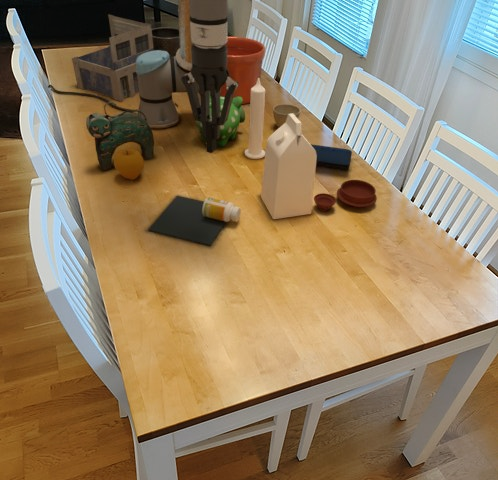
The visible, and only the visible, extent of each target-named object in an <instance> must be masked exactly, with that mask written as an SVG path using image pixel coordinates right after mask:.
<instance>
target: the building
mask: <svg viewBox="0 0 498 480" xmlns="http://www.w3.org/2000/svg"><path fill="white" fill-rule="evenodd" d="M107 16H108V22H109V29H110V37H108V38H109V45H108V46H107V47H104V48H101V49H99V50H96V51H92V52H90V53H86V54H83V55H81V56H74V57H71V62H72V66H73V72H74V76H75V80H76V84H77V88H78V89H81V90H87V91H91V92H93V93H96V94H100V95H103V96H106V97H108V98H112V99H113V100H114V101H116V102H117V101H118V102H123V101H124V99H126V98H128V97H130V98H132V97H134V96H136V94H137V93H139V87H138V78H137V74H136V59H137V58H138V57H139V56H140V55H141V54H143V53H146V52H150V51H154V49H153V39H152V29H153V28H152V24H151V23H147V22H140V21H136V20H132V19H129V18H124V17H119V16H115V15H113V14H110V13H109V14H107Z"/></svg>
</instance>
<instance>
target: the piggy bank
mask: <svg viewBox="0 0 498 480" xmlns="http://www.w3.org/2000/svg"><path fill="white" fill-rule="evenodd" d="M224 99H225V97H221V96H220V116H221V111H222V107H223V103H224ZM242 102H243V99H242V97H235V98H233V100H232V104H231V108H230V112H229V116H228V120H227V121H226V123H225V124H224V125H220V136H219V138H218V139H216V147H218V148H223V147H225V146H226V145H227V144H228V141H233V140H234V139H235V138H236V135H237V131H238V129H239V128H240V124H242V123H244V122H245V121H246V112H245V109H244V108H243V106H242V105H243V104H242ZM210 118H211V119H210V120H209V122H210V121H211V122H212V115H211V96H210ZM195 122H196V123H195V124H196V127H197V130H198V132H199V134H200V137H201V141H202V142H203V143H205V144H206V137H203V134H202V123H201V122H200V121H195Z"/></svg>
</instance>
